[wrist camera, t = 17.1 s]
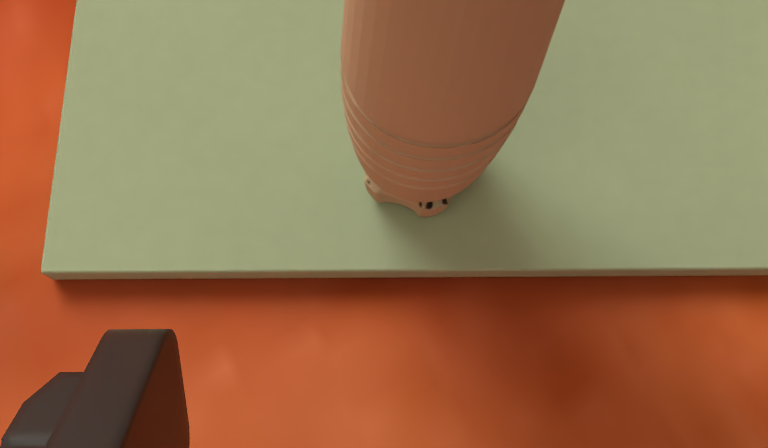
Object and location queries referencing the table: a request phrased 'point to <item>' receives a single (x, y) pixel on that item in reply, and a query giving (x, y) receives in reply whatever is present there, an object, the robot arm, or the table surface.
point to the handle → (437, 89)
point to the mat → (347, 177)
